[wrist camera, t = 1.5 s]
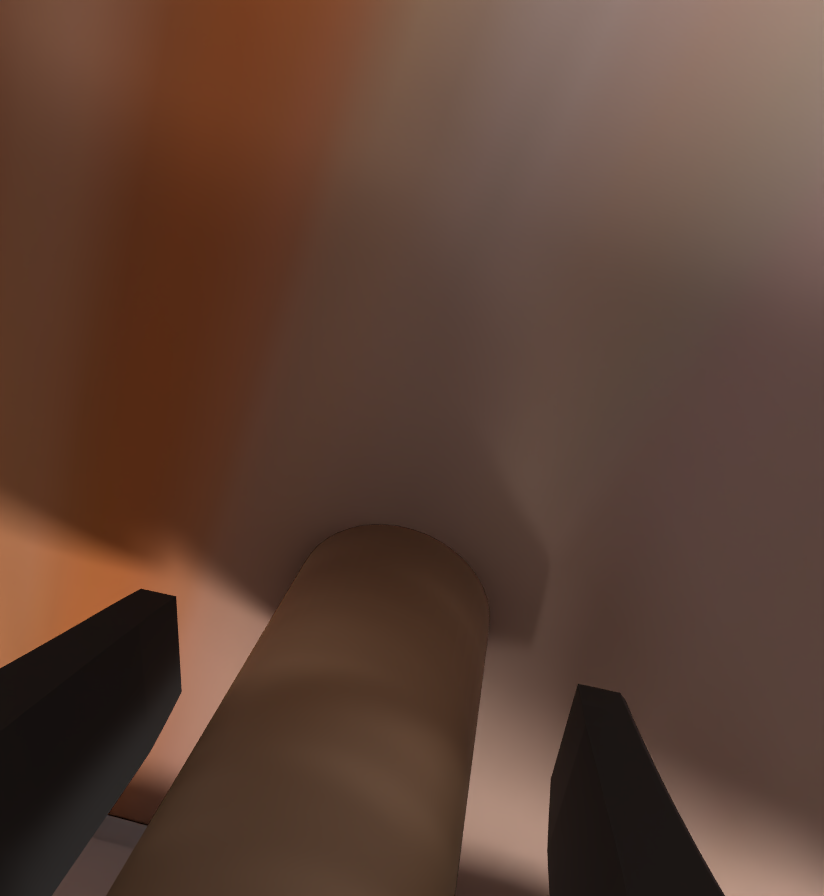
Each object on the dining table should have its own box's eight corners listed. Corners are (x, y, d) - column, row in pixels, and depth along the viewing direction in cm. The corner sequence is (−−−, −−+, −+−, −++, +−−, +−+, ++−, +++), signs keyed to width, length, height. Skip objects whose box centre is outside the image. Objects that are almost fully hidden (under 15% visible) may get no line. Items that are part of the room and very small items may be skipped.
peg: (505, 546, 11) (447, 1066, 5) (473, 703, 13) (399, 1253, 6) (300, 506, 12) (1, 932, 5) (294, 663, 13) (57, 1138, 7)
